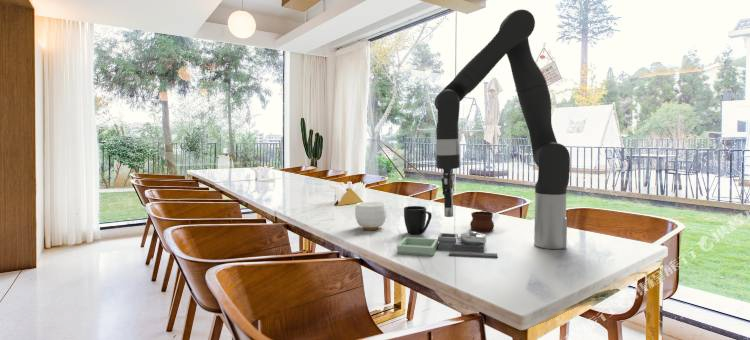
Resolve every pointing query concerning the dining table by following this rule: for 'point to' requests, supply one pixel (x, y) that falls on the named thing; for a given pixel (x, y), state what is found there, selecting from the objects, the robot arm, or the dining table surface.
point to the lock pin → (449, 211)
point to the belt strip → (473, 254)
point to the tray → (417, 246)
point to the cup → (370, 214)
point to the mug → (416, 219)
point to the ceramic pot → (482, 221)
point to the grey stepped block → (462, 242)
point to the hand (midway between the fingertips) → (448, 206)
